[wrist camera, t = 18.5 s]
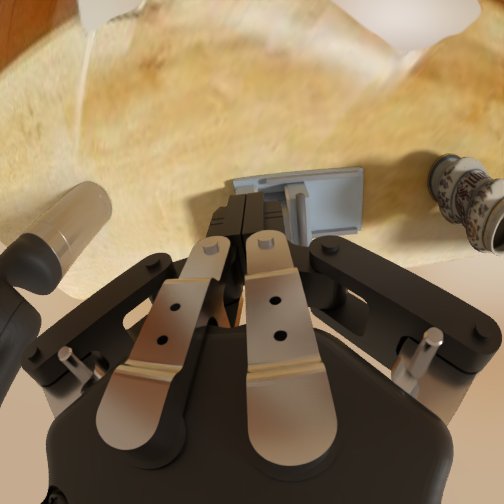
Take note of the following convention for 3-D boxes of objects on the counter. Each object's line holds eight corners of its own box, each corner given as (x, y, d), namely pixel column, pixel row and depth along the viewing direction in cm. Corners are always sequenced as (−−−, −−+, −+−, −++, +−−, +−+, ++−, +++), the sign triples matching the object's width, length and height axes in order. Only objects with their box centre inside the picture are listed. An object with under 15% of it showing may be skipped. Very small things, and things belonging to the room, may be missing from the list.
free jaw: (289, 235, 46) (292, 261, 40) (283, 178, 40) (287, 198, 34) (306, 233, 45) (313, 259, 40) (303, 176, 40) (310, 195, 34)
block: (263, 227, 45) (263, 256, 39) (258, 193, 42) (257, 218, 35) (288, 224, 45) (292, 253, 38) (284, 191, 41) (289, 215, 35)
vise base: (245, 238, 48) (242, 264, 42) (233, 178, 42) (228, 197, 36) (359, 226, 46) (371, 250, 40) (361, 166, 39) (377, 183, 33)
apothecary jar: (469, 201, 41) (524, 255, 26) (423, 214, 43) (474, 277, 29) (470, 143, 34) (538, 185, 20) (420, 152, 37) (488, 200, 22)
